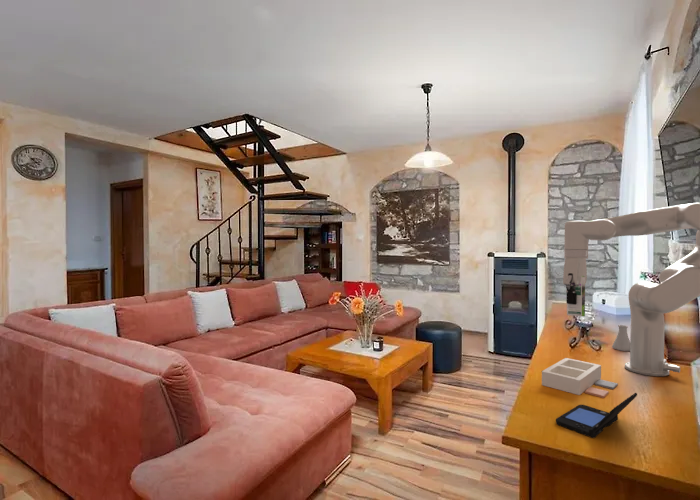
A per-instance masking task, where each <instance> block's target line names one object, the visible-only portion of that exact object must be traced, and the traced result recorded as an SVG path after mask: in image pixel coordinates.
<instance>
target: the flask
mask: <svg viewBox="0 0 700 500" xmlns="http://www.w3.org/2000/svg"><path fill="white" fill-rule="evenodd" d="M628 328H629V327H628V326H627V325H623V324H619V325H618V331H617V335H616V338H615V339H614V341H613V343H612V346H611V348H612V349H614V350H618V351H624V352H630V337H629V335H628Z"/></svg>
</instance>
